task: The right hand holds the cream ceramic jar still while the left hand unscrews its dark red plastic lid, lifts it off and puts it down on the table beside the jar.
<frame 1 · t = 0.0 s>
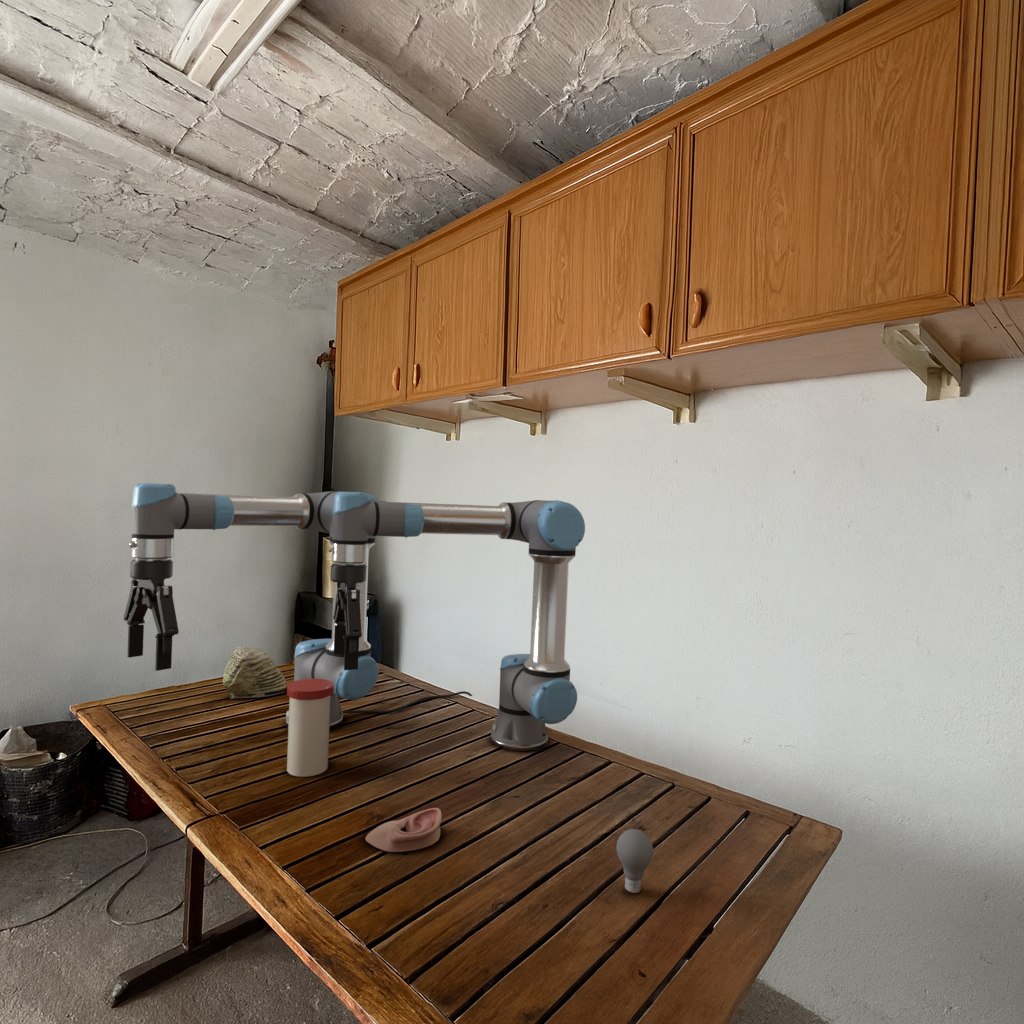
left hand: (148, 662, 129), 28 cm above the table, tool pointing down, fingers open, 13 cm apart
right hand: (345, 661, 137), 28 cm above the table, tool pointing down, fingers open, 13 cm apart
anatomical model: (404, 837, 119), on the table
lid: (310, 686, 147), point 19 cm above the table, screwed on, not yet turned
fossil: (254, 694, 198), on the table
jar: (307, 768, 147), on the table
light bulb: (632, 891, 106), on the table
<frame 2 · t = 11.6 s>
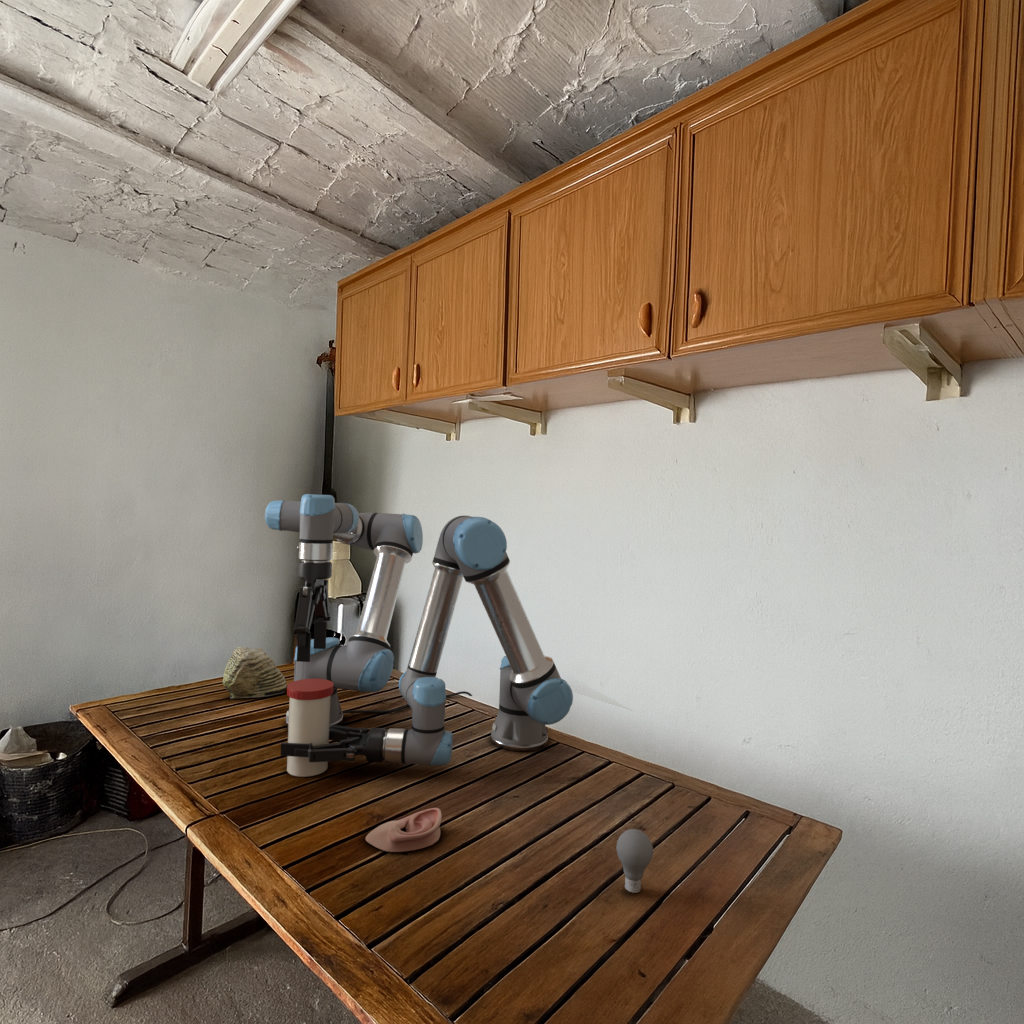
left hand: (311, 654, 147), 27 cm above the table, tool pointing down, fingers open, 11 cm apart
right hand: (289, 740, 147), 6 cm above the table, tool horizontal, fingers closed on jar, 9 cm apart
jar: (307, 768, 147), on the table, touching right hand
everything else where it was.
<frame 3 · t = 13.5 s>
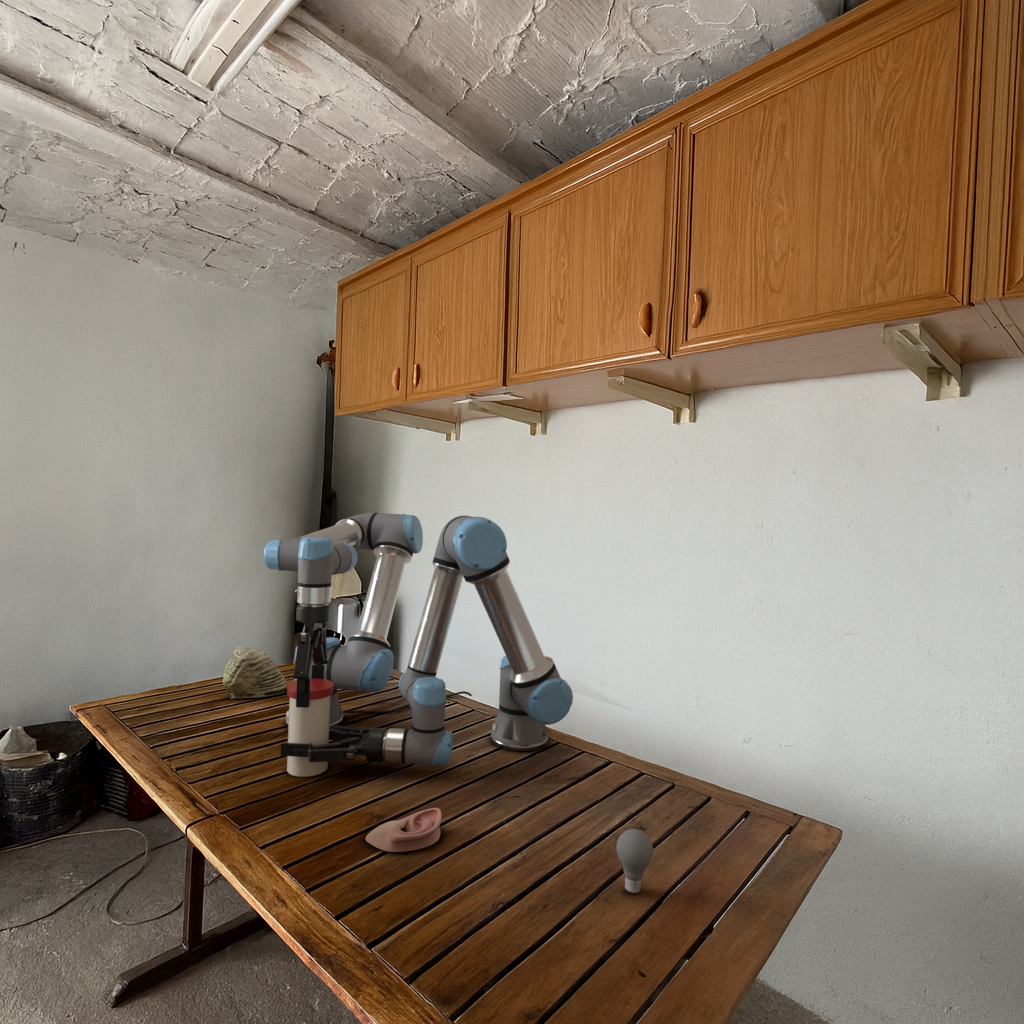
left hand: (310, 699, 147), 16 cm above the table, tool pointing down, fingers closed on lid, 10 cm apart
right hand: (289, 740, 147), 6 cm above the table, tool horizontal, fingers closed on jar, 9 cm apart
lid: (310, 686, 147), point 19 cm above the table, screwed on, not yet turned, touching left hand
jar: (307, 768, 147), on the table, touching right hand
everything else where it was.
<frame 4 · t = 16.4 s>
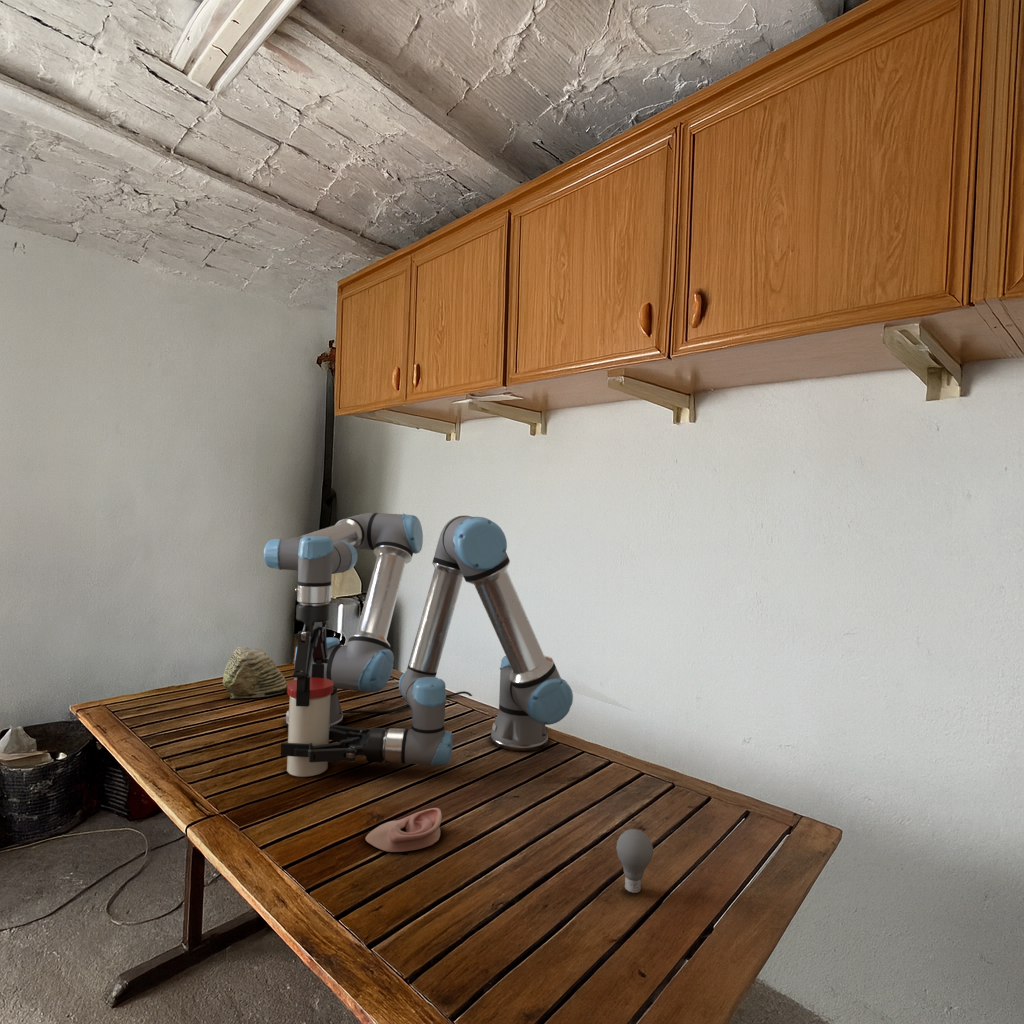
left hand: (310, 698, 147), 16 cm above the table, tool pointing down, fingers closed on lid, 10 cm apart
right hand: (289, 740, 147), 6 cm above the table, tool horizontal, fingers closed on jar, 9 cm apart
lid: (310, 685, 147), point 19 cm above the table, turned 72° so far, risen 0.2 cm, still on its thread, touching left hand
jar: (307, 768, 147), on the table, touching right hand
everything else where it was.
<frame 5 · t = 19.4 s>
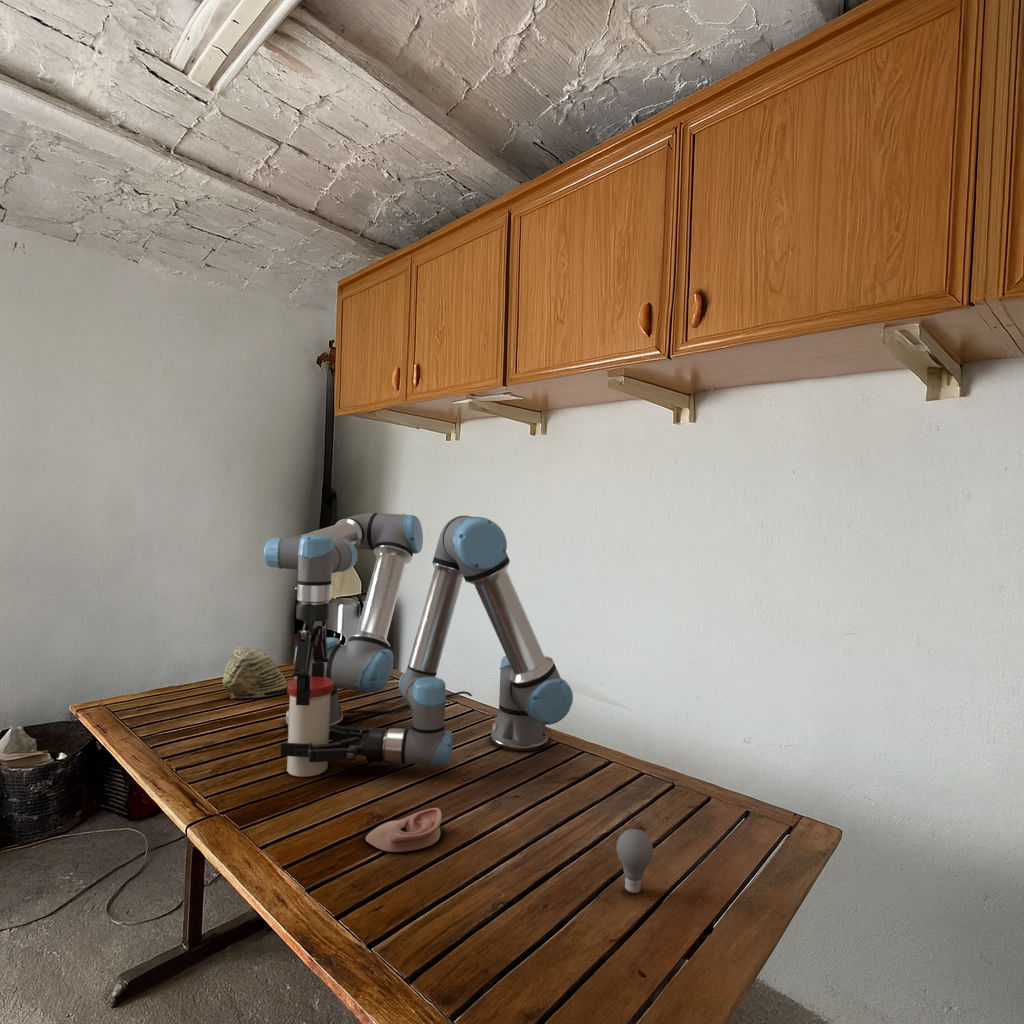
left hand: (310, 697, 147), 17 cm above the table, tool pointing down, fingers closed on lid, 10 cm apart
right hand: (289, 740, 147), 6 cm above the table, tool horizontal, fingers closed on jar, 9 cm apart
lid: (310, 684, 147), point 20 cm above the table, turned 143° so far, risen 0.5 cm, still on its thread, touching left hand
jar: (307, 768, 147), on the table, touching right hand
everything else where it was.
when the left hand's fingers open (0 cm above the table, at t = 26.4 s): lid drops 2 cm, point 2 cm above the table.
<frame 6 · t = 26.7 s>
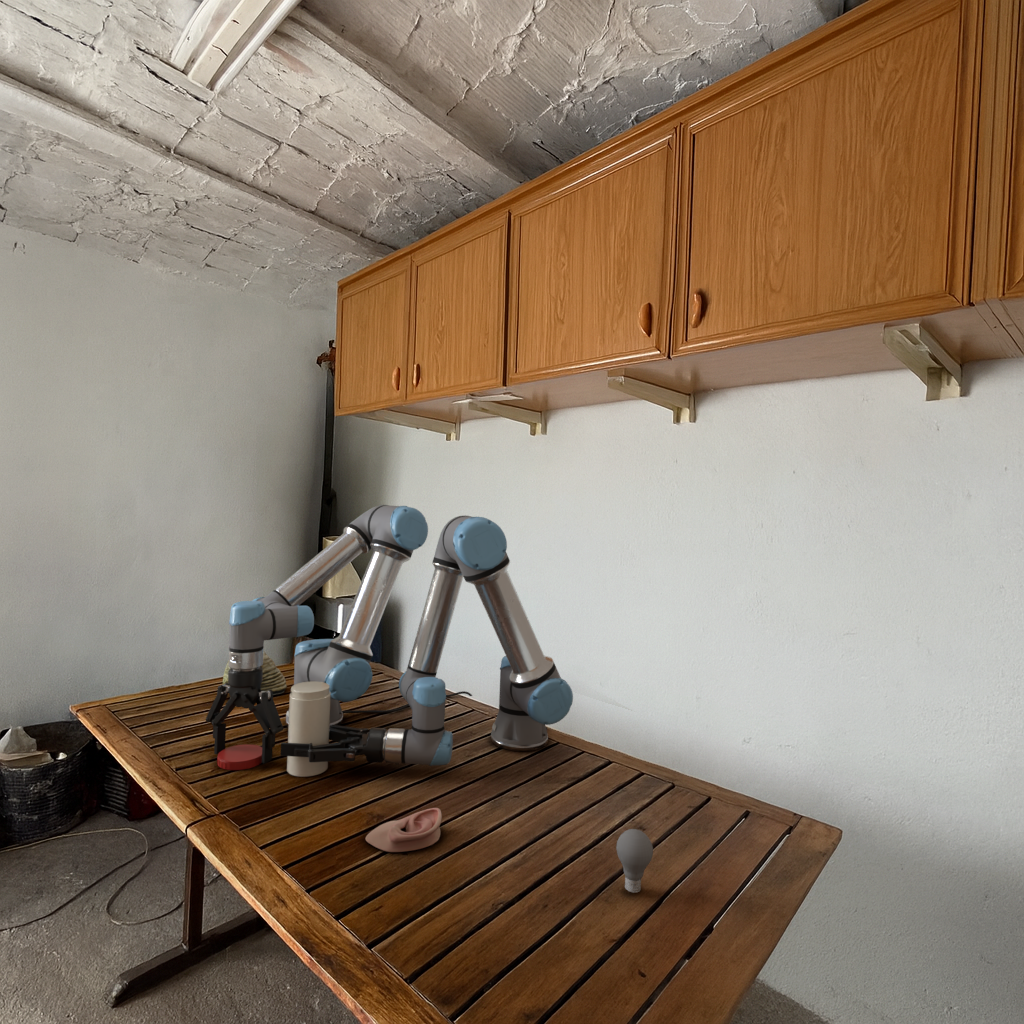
left hand: (243, 756, 150), 1 cm above the table, tool pointing down, fingers open, 13 cm apart
right hand: (289, 740, 147), 6 cm above the table, tool horizontal, fingers closed on jar, 9 cm apart
lid: (241, 754, 150), point 2 cm above the table, off its thread
jar: (307, 768, 147), on the table, touching right hand
everything else where it was.
when the right hand's fingers open (6 cm above the table, at t = 27.4 s): jar stays where it is, on the table.
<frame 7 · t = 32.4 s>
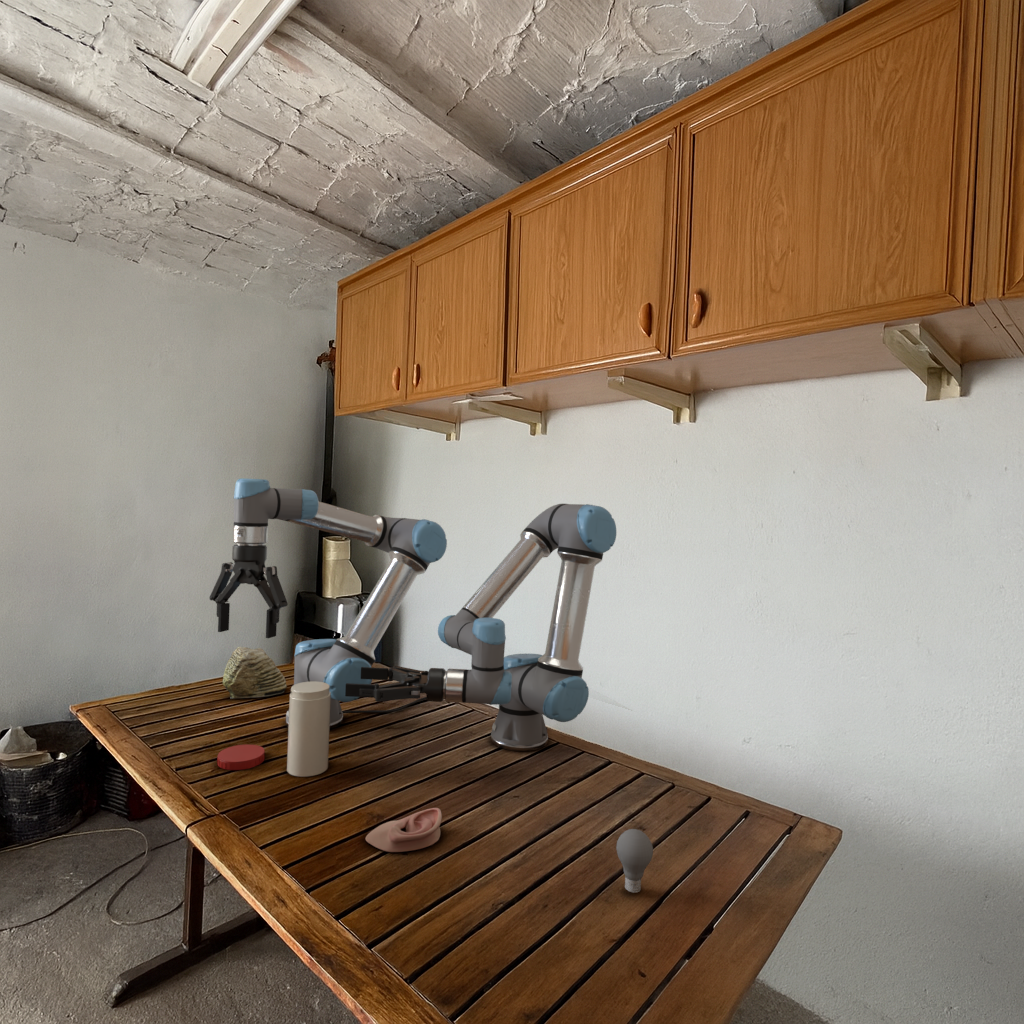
left hand: (246, 634, 149), 30 cm above the table, tool pointing down, fingers open, 13 cm apart
right hand: (353, 680, 147), 21 cm above the table, tool horizontal, fingers open, 13 cm apart
jar: (307, 768, 147), on the table
everything else where it was.
at the end: lid came off its thread; lid point 1.6 cm above the table; the left hand is holding nothing; the right hand is holding nothing; jar tilted 0°; jar moved 0.0 cm from its start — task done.
